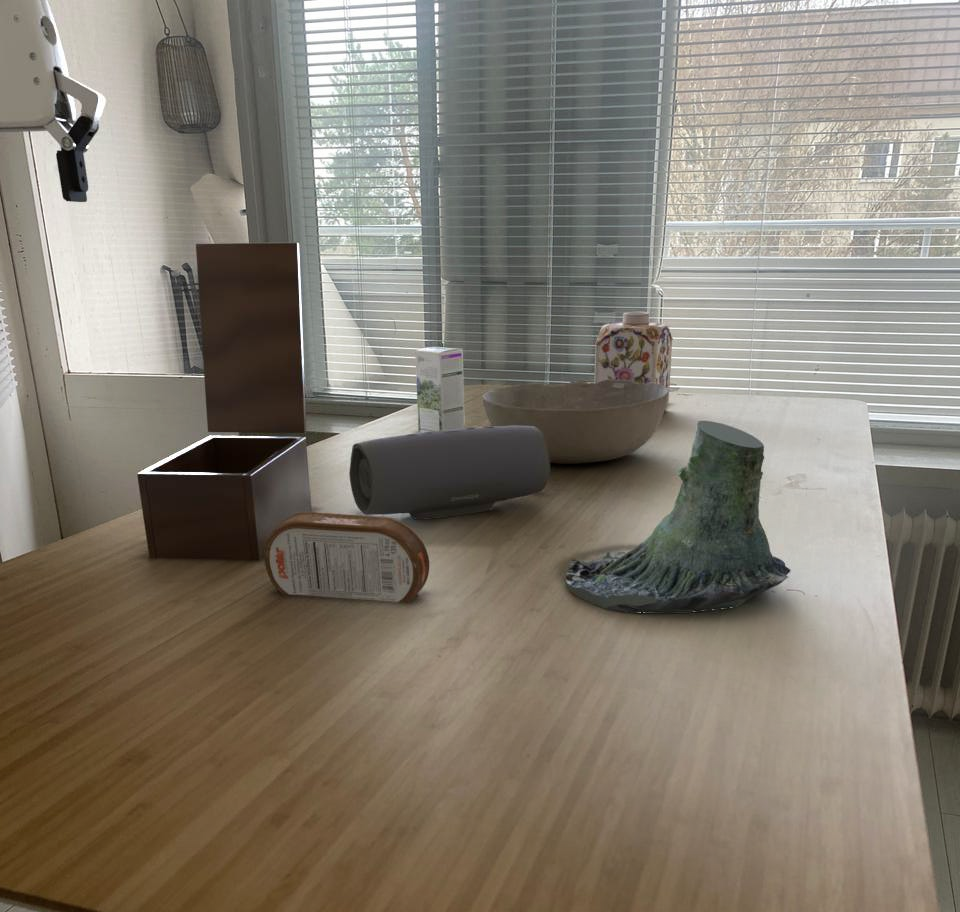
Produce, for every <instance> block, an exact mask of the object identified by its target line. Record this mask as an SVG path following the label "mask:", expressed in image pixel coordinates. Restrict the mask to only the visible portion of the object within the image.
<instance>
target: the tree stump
mask: <svg viewBox="0 0 960 912" xmlns="http://www.w3.org/2000/svg"><path fill="white" fill-rule="evenodd" d="M696 424H697V425H696V430H695V436H694V440H693V442H692V446H691V451H690V452H691V453H690V456H689V459H688V462H687V466H685V467H682V468H681V469H679V470H678V473H677V475H678V477H679V478H680V480H681V485H680V487H679V491H678V494H677V496H676V499H675V504H674V507H673V509H672V510H671V511H670V513H668V514H666V515H665V516H664V517H663V518H662V519H661V520H660V522H659V523H658V524H657V526H656V527H655V528H654V530H653V531H652V532H651V535H649V536H648V537H647V538H646V539H644V540H643V541H642V542H641V543H639V544H638V545H636V546H635V547H634V548H633V549H631V550H628V551H627V552H626V551H619V552H616V553H615V552H614V553H610V552H609V551H607V552H606V554H605V555H601V556H600V557H597V558H593V559H589V560H586V561H585V560H583V561H579V560H576V559H577V558H573V557H572V558H571V562H570V563H569V566H568V571H567V572H566V573H565V585H566V587H567V589H568V591H569V592H570V593H572V594H573V595H575V596H576V597H577V598H579V599H582V600H584V601H586V602H589V603H591V604H593V605H596V606H598V607H600V608H603V609H605V610H610V611H616V610H617V612H623V611H625V612H624V613H630V612H634V613H633V614H636V613H635V612H641V613H640V614H644V613H643V612H693V611H702V610H712V609H721V608H730V607H736V608H737V607H739V606H740V605H742V604H743V603H744V602H746V601H748V600H749V599H750V598H752V597H754V596H757V595H759V594H762V593H763V592H766V591H768V590H770V589H772V588H775V587H777V586H779V585H780V584H781V583H783V582H785V580H786V579H788V578H789V576H788V574H790V573H791V571H792V569H790V568H789V567H787V566H786V563H785V561H783V560H782V559H780V558H779V557H777V556H775V555H774V556H773V554H772V552H771V548H770V547H771V546H770V543H769V539H768V537H767V533H766V531H765V529H764V527H763V525H762V523H761V520H760V509H759V508H760V507H759V505H760V491H761V480H762V478H763V475H764V472H763V471H762V467H763V463H764V461H765V455H764V452H765V448H764V447H765V444H764V443H763V442H762V441H761V440H760V439H758V438H757V437H755V436H754V435H752V434H750V433H748V432H746V431H744V430H741V429H739V428H736V427H733V426H731V425H728V424H726V423H725V424H724V423H720V422H716V421H710V420H698V421H697V423H696ZM730 609H731V608H730ZM618 610H619V611H618ZM721 610H722V609H721ZM626 611H627V612H626ZM712 611H713V610H712ZM702 612H703V611H702ZM693 613H694V612H693Z"/></svg>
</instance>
